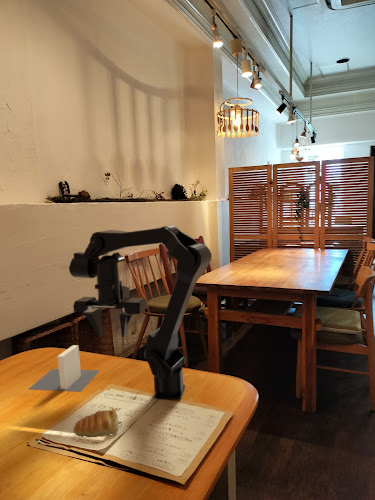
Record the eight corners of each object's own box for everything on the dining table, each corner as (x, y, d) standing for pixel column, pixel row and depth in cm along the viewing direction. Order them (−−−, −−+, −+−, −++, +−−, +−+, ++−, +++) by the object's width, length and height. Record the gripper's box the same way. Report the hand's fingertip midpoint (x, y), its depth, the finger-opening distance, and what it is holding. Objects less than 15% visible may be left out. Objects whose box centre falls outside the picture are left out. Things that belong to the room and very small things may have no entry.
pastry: (73, 444, 75) (71, 427, 75) (74, 426, 82) (73, 409, 82) (120, 435, 78) (118, 418, 77) (117, 417, 84) (116, 402, 84)
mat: (100, 372, 107) (99, 370, 107) (81, 393, 95) (80, 391, 95) (52, 370, 110) (52, 368, 110) (28, 391, 98) (28, 389, 98)
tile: (81, 376, 104) (78, 345, 103) (66, 389, 97) (62, 356, 96) (75, 375, 104) (72, 345, 103) (60, 388, 97) (57, 356, 96)
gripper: (152, 272, 102) (155, 327, 104) (90, 272, 107) (95, 325, 109) (137, 281, 91) (141, 342, 93) (69, 281, 96) (74, 339, 98)
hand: (112, 336), depth 99 cm, fingers open, 6 cm apart
